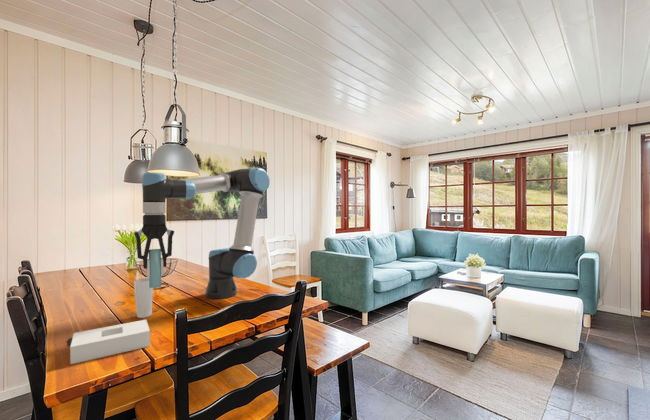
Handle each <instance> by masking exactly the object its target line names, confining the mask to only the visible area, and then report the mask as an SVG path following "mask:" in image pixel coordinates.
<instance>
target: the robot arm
mask: <svg viewBox="0 0 650 420" xmlns="http://www.w3.org/2000/svg"><path fill="white" fill-rule="evenodd" d="M270 180H271V179H270V177H269V175H268V172H267V171H266V170H265V169H264V168H262V167H250V168H238V169H236V170H231V171H227V172H221V173H219V175H218V174H216V175H210V176H209V175H208V176H201V177H200V176H199V177H198V176H197V177H191V178H189V177H188V178H180V179H167V178H166V174H164V173H163V172H162V173H161V172H145V173H143V175H142V182H141V187H142V213H143V214H144V215H142V227H141V230H138V231H134V232H133V234H134V236H135V239H136V252H137V253H136V254H137V258H138V259H139V260H142V261H143V263H142V265H143V269H144V270H145V269H146V278H150V260H149V250H150V248H151V243H152V240H155V239H157V241H158V244H159V247H160V248H159V249H161V277H164V268H165V267H167V258H168V257H172V253H173V251H172V250H173V236H174V234H175V231H174V230H172V229H169V228H168V227H167V223H166V222H167V221H166V219H167V218H166V217H167V216H166V214H165V213H166V212H167V211H166V200H175V199H177V200H180V199H181V200H183V199H184V200H189V199H193V198H195V195H199V194H204V193H205V194H206V193H211V192H212V193H213V192H218V191H220V192H221V191H222V192H224V193H226V192H238V193H239V194H240V196H241V197H240V205H239V209H238V215H237V220H236V221H237V222H236V228H235V232H234V240H233V243H232V245H231V246H229V247H227V248H218V249H211V250H210V251H209V252H208V258H207V259H208V282H207V285H206V288H205V297H206V298H209V299H224V298H230V297H233V296H235V295H237V293H238V287H237V285H236V282H235V279H234V278H237V279H248V278H249V277H250V276H252V275H253V274H254V273H255V271H256V269H257V267H258V261H257V257H256V256H255V255H254V254H255V253H254V252H255V250H254V249H253V248H252V244H253V238H254V232H255V228H256V227H255V225H256V220H257V214H258V207H259V202H260V200H261V198H263V195H264V192H265V191H267V190H268V189H269V187H270V183H271V182H270ZM143 234H144V236H145V237H146V242H145V247H144V252H143V255H142V241H141V237H142V235H143ZM165 234H166V235H167V248H166V249H167V252H166V249H165V243H164V239H163V236H164V235H165Z"/></svg>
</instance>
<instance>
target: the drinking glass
mask: <svg viewBox="0 0 650 420" xmlns="http://www.w3.org/2000/svg"><path fill="white" fill-rule="evenodd" d="M133 283H134V284H133V289H134V291H133V292H134V298H135V299H134V301H135V309H136V317H137V318H138V319H145V318H149V317H151V316H152V315H153V314H152V313H153V309H152V308H153V299H154V288H149V278H147V277H142V278H137V279H135V280H134V281H133Z"/></svg>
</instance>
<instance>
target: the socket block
mask: <svg viewBox="0 0 650 420" xmlns="http://www.w3.org/2000/svg"><path fill="white" fill-rule="evenodd" d="M150 330H151V329H150V327H149V323H148V320H147V319H142V320H137V321H131V322H126V323H120V324H114V325H109V326H103V327H98V328H94V329H93V328H92V329H88V330H81V331H78V332H77V331H75V332H74V333H73V336H72V337H73V339H72V342H71V346H69V347H70V348H69V349H70V353H69V356H70V358H69V359H70V365H73V364H78V363H81V362H87V361H91V360H96V359H101V358H105V357H108V356H113V355H117V354H121V353H122V354H123V353H126V352H130V351H135V350H139V349H143V348H148V347H151V331H150Z"/></svg>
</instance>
